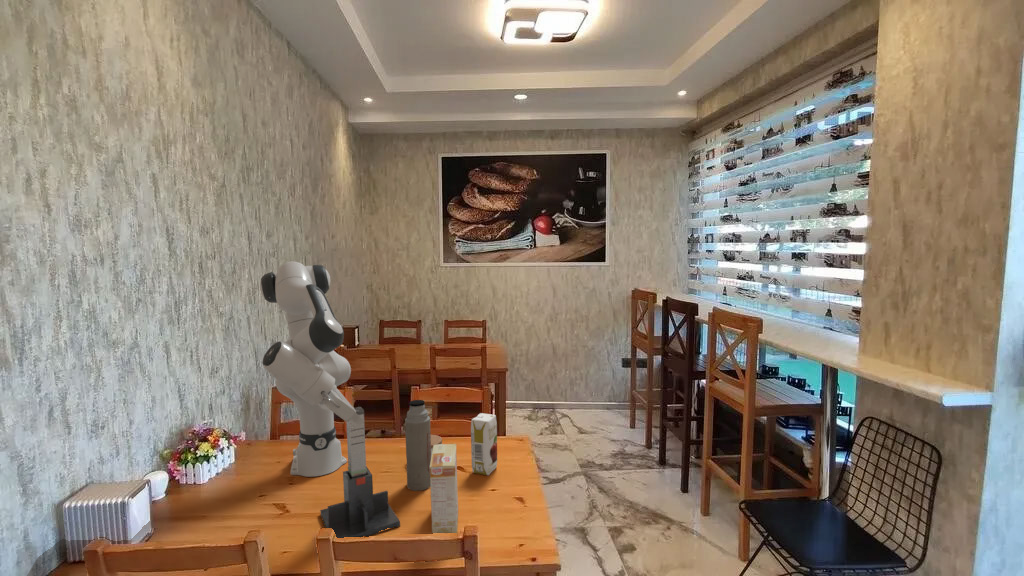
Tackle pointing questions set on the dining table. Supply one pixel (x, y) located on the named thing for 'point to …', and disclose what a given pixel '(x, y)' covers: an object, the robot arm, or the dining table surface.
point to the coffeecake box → (444, 488)
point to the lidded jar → (435, 441)
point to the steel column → (356, 447)
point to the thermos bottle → (418, 446)
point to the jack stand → (360, 509)
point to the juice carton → (484, 443)
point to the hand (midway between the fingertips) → (357, 416)
